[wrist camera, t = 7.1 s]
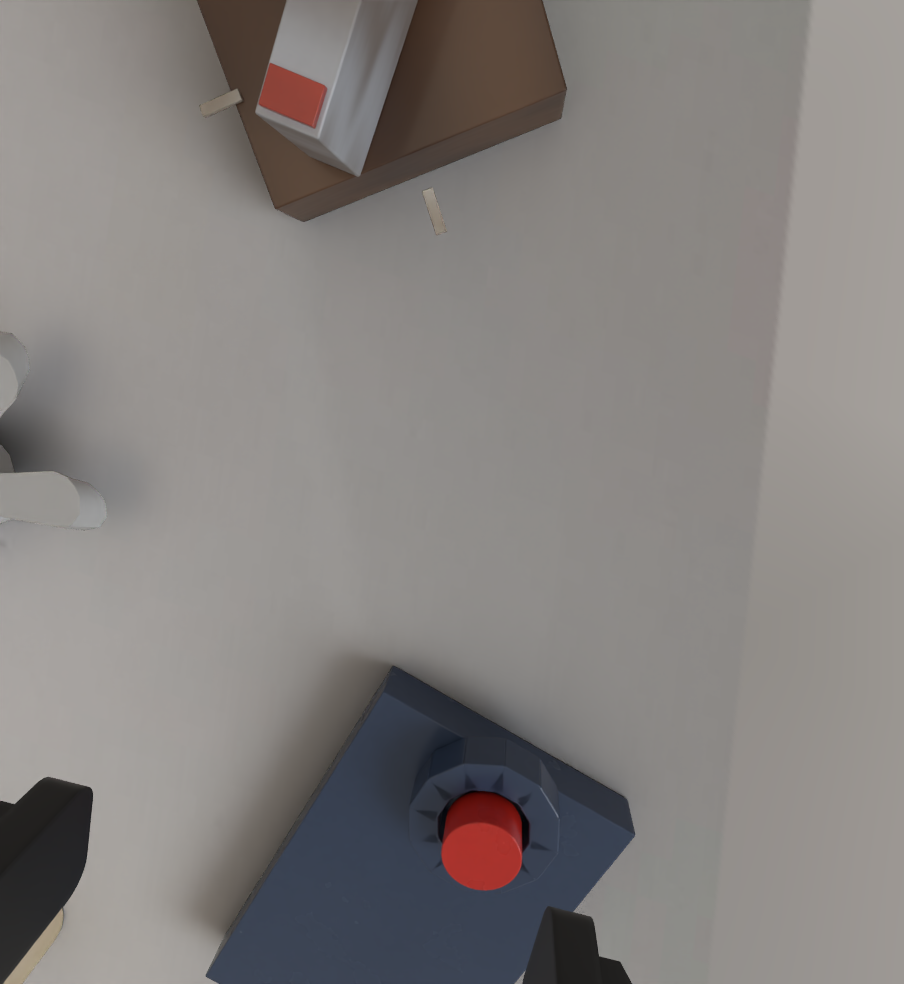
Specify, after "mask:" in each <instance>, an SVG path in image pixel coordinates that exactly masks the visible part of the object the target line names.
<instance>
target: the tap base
mask: <svg viewBox="0 0 904 984" xmlns="http://www.w3.org/2000/svg"><path fill="white" fill-rule="evenodd" d="M197 2H198V5H199V7H200V10H201V13H202V15H203V18H204V21H205V23H206V26H207V29H208V31H209V34H210V37H211V39H212V42H213V45H214V47H215V50H216V53H217V55H218V58H219V61H220V63H221V66H222V69H223V71H224V74H225V77H226V79H227V82H228V85H229V87H230V90H231V92H228V93H226V94H224V95H222V96H219V97H217V98H215V99H213V100H210V101H208V102H206V103H204V104H202V105H199V107H200V109H201V112H202V115H203V117H204V118H207V117H209V116H212V115H214V114H216V113H218V112H221V111H223V110H225V109H227V108H230V107H232V106H234V105H236V106H237V109H238V111H239V114H240V117H241V119H242V122H243V125H244V127H245V130H246V133H247V135H248V138H249V141H250V144H251V146H252V149H253V152H254V154H255V157H256V160H257V162H258V165H259V168H260V170H261V173H262V176H263V178H264V181H265V184H266V186H267V189H268V192H269V194H270V197H271V200H272V202H273V205H274V208H275V209H277V210H279V211H281V212H283V213H285V214H287V215H290V216H292V217H294V218H296V219H298V220H300V221H302V222H305V221H308V220H310V219H313V218H315V217H317V216H320V215H322V214H325V213H327V212H330V211H332V210H335V209H337V208H340V207H342V206H345V205H347V204H350V203H352V202H355V201H357V200H360V199H362V198H365V197H367V196H370V195H372V194H375V193H377V192H380V191H382V190H385V189H387V188H390V187H392V186H395V185H397V184H400V183H402V182H404V181H407V180H409V179H412V178H414V177H417V176H419V175H422V174H424V173H427V172H429V171H432V170H434V169H437V168H439V167H442V166H444V165H447V164H449V163H452V162H454V161H457V160H459V159H462V158H464V157H467V156H469V155H472V154H474V153H477V152H479V151H482V150H484V149H487V148H489V147H491V146H494V145H496V144H499V143H501V142H504V141H506V140H509V139H511V138H514V137H516V136H519V135H521V134H524V133H526V132H529V131H531V130H534V129H536V128H539V127H541V126H544V125H546V124H549V123H551V122H554V121H556V120H559V119H560V118H561V116H562V111H563V106H564V101H565V95H566V90H567V87H566V83H565V80H564V76H563V73H562V69H561V66H560V62H559V58H558V55H557V51H556V48H555V44H554V40H553V37H552V33H551V30H550V26H549V22H548V19H547V15H546V12H545V8H544V5H543V1H542V0H418V2H417V5H416V8H415V11H414V14H413V17H412V20H411V23H410V26H409V29H408V32H407V35H406V38H405V41H404V44H403V47H402V50H401V53H400V56H399V60H398V63H397V66H396V69H395V72H394V75H393V78H392V81H391V84H390V87H389V90H388V93H387V96H386V99H385V102H384V105H383V108H382V111H381V114H380V117H379V120H378V123H377V126H376V129H375V132H374V135H373V138H372V141H371V144H370V147H369V150H368V153H367V156H366V159H365V162H364V166H363V169H362V172H361V175H360V176H359V177H357V176H355V175H352V174H350V173H348V172H345V171H343V170H340V169H338V168H336V167H333V166H331V165H328V164H326V163H324V162H321V161H319V160H316V159H314V158H312V157H310V156H308V155H307V154H306V153H305V152H303V151H302V150H301V149H300V148H298V147H297V146H296V145H294V144H293V143H292V142H291V141H289V140H288V139H287V138H286V137H284V136H283V135H282V134H281V133H279V132H278V131H277V130H276V129H274V128H273V127H272V126H271V125H269V124H268V123H267V122H266V121H264V120H263V119H262V118H261V117H259V116H258V115H257V114H256V113H255V110H256V107H257V103H258V99H259V96H260V92H261V89H262V85H263V82H264V78H265V75H266V71H267V68H268V64H269V61H270V57H271V53H272V50H273V46H274V43H275V39H276V36H277V32H278V29H279V25H280V22H281V18H282V15H283V11H284V7H285V4H286V0H197ZM422 193H423V196H424V199H425V202H426V205H427V208H428V212H429V215H430V218H431V221H432V224H433V227H434V230H435V233H436V235H440V234H442V233H445V232H447V230H446V227H445V224H444V221H443V218H442V214H441V211H440V208H439V205H438V202H437V199H436V196H435V193H434V190H433V188H429V189H427V190H424V191H422Z"/></svg>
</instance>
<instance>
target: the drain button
mask: <svg viewBox="0 0 904 984" xmlns="http://www.w3.org/2000/svg"><path fill="white" fill-rule="evenodd" d="M441 858H442V862H443V864H444V867H445V869H446V871H447V872H448V873H449V875H450V876H451V877H452V878H453V879H454V880H456V881H457V882H458V883H460V884H462V885H464V886H466V887H468V888H471V889H476V890H494V889H498V888H501V887H503V886H505V885H507V884H508V883H510V882H511V881H512V880H513V879H514V878H515V877H516V875H517V874H518V872H519V870H520V868H521V864H522V821H521V817H520V815H519V813H518V811H517V809H516V808H515V807H514V805H513V804H512V803H511V802H510V801H508V800H507V799H506V798H504V797H502V796H500V795H498V794H495V793H491V792H485V791H477V792H471V793H468V794H465V795H463V796H461V797H460V798H458V799H457V800H456V801H455V802H454V803H453V804H452V805H451V807H450V808H449V810H448V813H447V816H446V822H445V829H444V835H443V842H442V849H441Z"/></svg>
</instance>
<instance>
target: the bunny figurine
mask: <svg viewBox="0 0 904 984" xmlns="http://www.w3.org/2000/svg"><path fill="white" fill-rule="evenodd" d="M29 371H30V367H29V357H28V354H27V351H26V349H25V346H24V345H23V344H22V343H21V342H20V341H19V340H18V339H17V338H16V337H15V336H14V335H13V334H12V333H5V332H0V417H1V416H2V414H3V413H4V412H5V411H6V410H7V409H8V408H9V407H10V406H11V404H12V403H13V402H14V401H15V400H16V398H17V396H18V394H19V392H20V390H21V388H22V386H23V384H24V382H25V380H26V377H27V375H28V373H29ZM106 517H107V512H106V505H105V501H104V499H103V498H102V496H101V495H100V493H99V492H98V491H97V490H96V489H95V488H94V487H92V486H91V485H90V484H89V483H87V482H83V481H79V480H75V479H72V478H69V477H67V476H64V475H62V474H60V473H57V472H55V471H44V472H22V473H15V472H14V468H13V465H12V461H11V458H10V455H9V454H8V452H7V451H6V450H5V449H4V448H3V447H2V446H1V444H0V524H2V523H4V522H7V521H9V520H12V519H14V520H20V521H25V522H30V523H36V524H41V525H47V526H52V527H59V528H67V529H76V530H84V531H85V530H90V529H95V528H100V527H101V525H102V524H103V522H104V520H105V519H106Z"/></svg>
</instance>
